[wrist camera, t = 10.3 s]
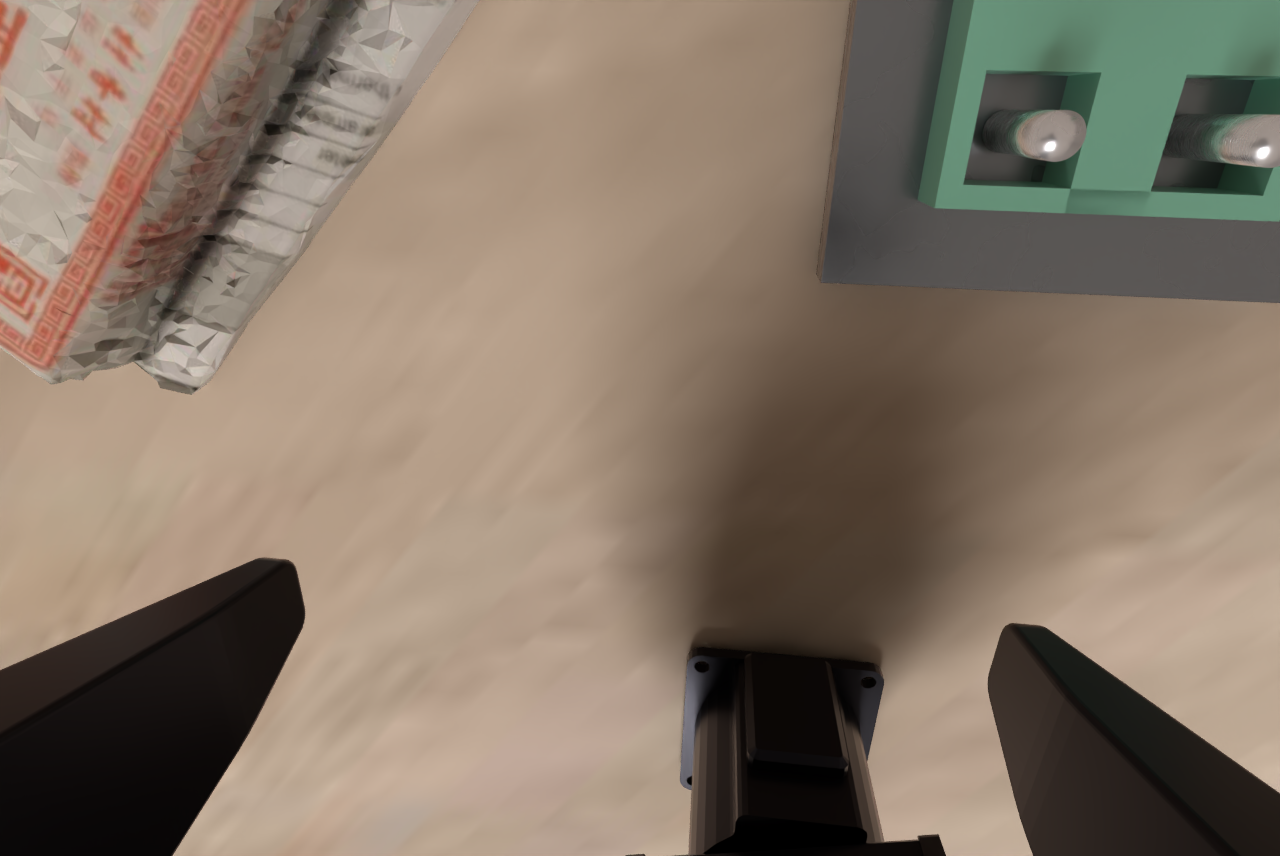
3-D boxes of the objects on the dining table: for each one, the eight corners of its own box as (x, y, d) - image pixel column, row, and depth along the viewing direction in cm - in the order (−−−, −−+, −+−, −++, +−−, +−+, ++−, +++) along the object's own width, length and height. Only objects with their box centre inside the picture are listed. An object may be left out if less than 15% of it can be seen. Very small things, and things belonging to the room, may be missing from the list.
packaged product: (98, 459, 18) (-285, 181, 16) (219, 391, 23) (-70, 166, 21) (524, -215, 12) (-33, -831, 10) (579, -127, 16) (205, -536, 14)
